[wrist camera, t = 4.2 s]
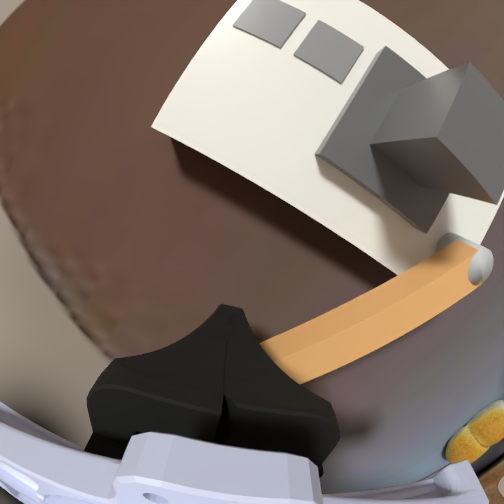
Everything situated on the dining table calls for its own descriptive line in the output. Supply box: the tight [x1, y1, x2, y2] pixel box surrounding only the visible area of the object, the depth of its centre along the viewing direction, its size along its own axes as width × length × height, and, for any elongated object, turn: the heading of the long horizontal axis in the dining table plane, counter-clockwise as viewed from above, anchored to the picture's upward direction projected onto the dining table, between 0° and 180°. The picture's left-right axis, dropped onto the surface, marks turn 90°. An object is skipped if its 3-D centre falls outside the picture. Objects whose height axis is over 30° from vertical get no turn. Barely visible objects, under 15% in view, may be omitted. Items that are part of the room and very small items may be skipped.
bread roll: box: [446, 400, 504, 464], centre depth 18 cm, size 8×9×4 cm
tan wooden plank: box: [259, 232, 493, 384], centre depth 11 cm, size 15×2×3 cm, turn 118°
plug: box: [315, 46, 504, 234], centre depth 9 cm, size 6×6×8 cm
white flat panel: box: [151, 0, 504, 275], centre depth 11 cm, size 16×10×3 cm, turn 59°
